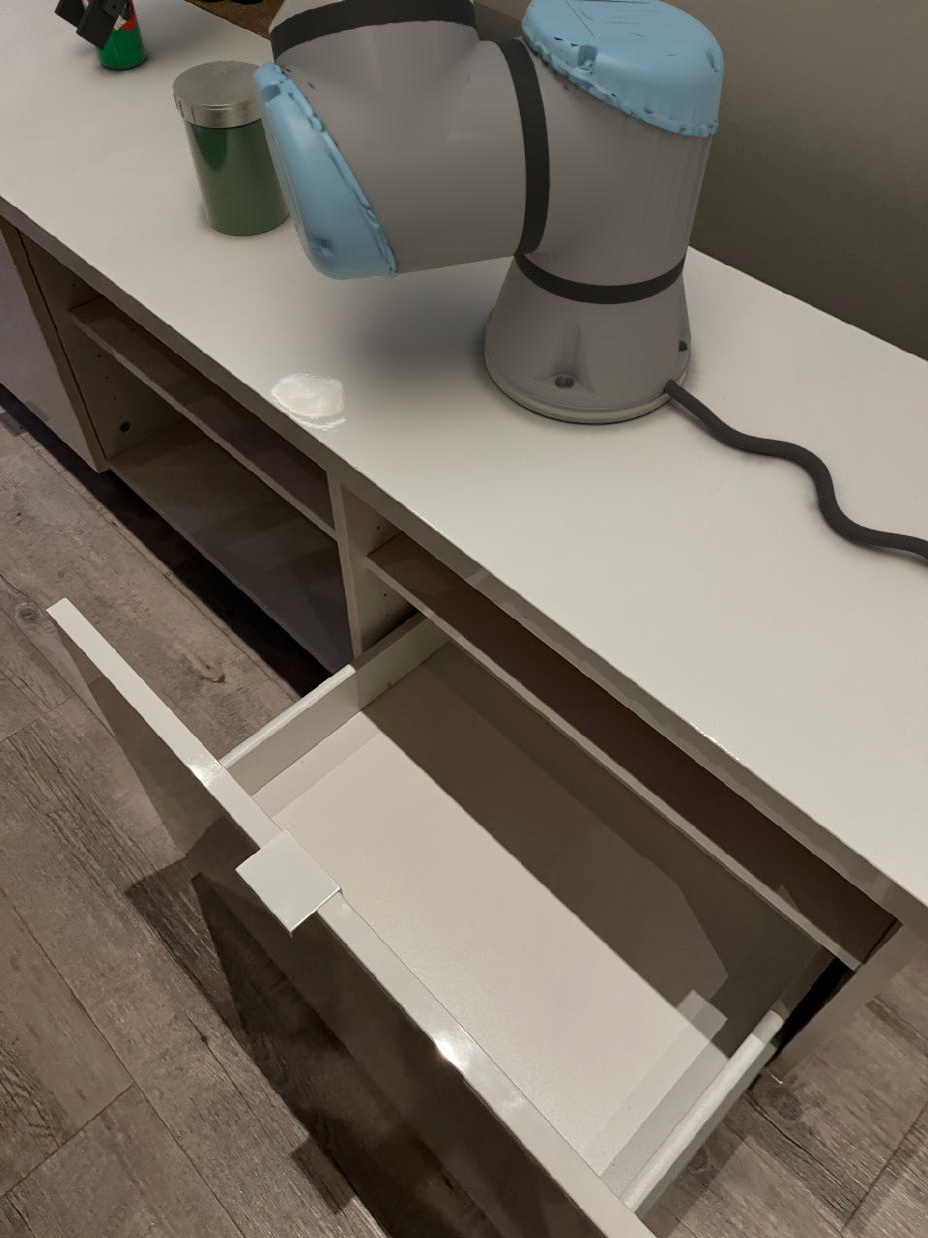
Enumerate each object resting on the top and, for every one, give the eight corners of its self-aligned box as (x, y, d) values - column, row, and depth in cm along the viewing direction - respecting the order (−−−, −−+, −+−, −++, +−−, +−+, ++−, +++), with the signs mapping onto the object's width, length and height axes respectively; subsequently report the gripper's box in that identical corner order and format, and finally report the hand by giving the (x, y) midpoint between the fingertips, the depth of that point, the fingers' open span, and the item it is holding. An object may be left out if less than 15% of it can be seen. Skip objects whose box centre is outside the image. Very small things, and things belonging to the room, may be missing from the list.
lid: (286, 115, 73) (283, 92, 71) (192, 136, 71) (187, 113, 70) (256, 75, 77) (252, 53, 75) (167, 93, 75) (161, 71, 74)
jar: (300, 223, 80) (280, 97, 72) (220, 243, 78) (190, 116, 70) (273, 183, 84) (252, 59, 76) (196, 202, 82) (165, 77, 74)
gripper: (262, -151, 85) (146, 85, 93) (177, -198, 94) (78, 22, 102) (196, -218, 79) (78, 41, 87) (112, -261, 88) (11, -22, 96)
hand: (78, 30), depth 94 cm, fingers closed on soda can, 5 cm apart
